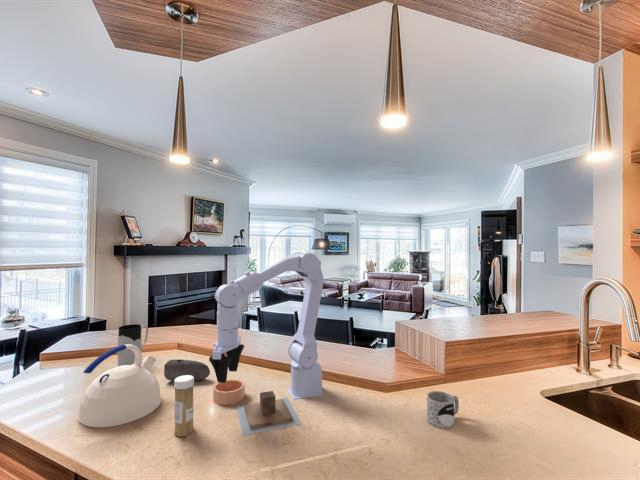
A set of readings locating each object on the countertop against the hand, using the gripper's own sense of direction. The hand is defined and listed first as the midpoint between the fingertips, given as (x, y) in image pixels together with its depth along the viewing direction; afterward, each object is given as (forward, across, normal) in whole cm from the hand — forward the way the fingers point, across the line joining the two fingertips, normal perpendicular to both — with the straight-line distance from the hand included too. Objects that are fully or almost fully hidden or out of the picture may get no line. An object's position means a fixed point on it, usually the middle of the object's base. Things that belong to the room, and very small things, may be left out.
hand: (227, 376), depth 92 cm
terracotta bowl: (+10, -7, -3) cm, 12 cm away
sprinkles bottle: (+10, +11, -7) cm, 16 cm away
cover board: (+9, +1, +12) cm, 15 cm away
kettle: (+10, +2, -30) cm, 32 cm away
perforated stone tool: (+10, -18, -22) cm, 30 cm away
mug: (+10, -3, +59) cm, 60 cm away
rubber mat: (+10, +1, +12) cm, 15 cm away
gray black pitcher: (+10, -30, -51) cm, 60 cm away
